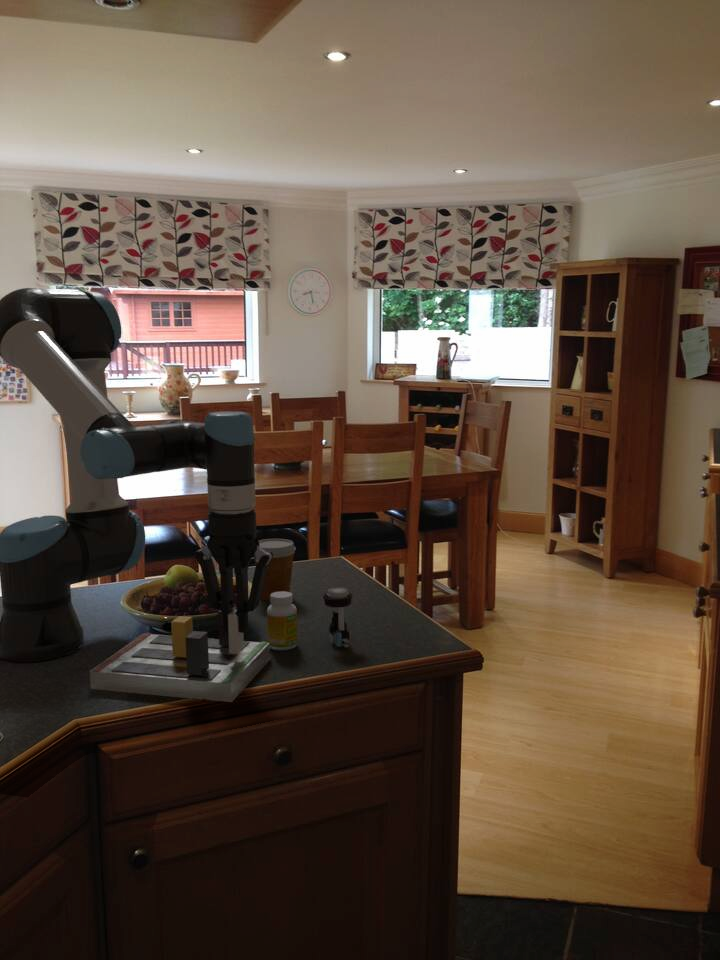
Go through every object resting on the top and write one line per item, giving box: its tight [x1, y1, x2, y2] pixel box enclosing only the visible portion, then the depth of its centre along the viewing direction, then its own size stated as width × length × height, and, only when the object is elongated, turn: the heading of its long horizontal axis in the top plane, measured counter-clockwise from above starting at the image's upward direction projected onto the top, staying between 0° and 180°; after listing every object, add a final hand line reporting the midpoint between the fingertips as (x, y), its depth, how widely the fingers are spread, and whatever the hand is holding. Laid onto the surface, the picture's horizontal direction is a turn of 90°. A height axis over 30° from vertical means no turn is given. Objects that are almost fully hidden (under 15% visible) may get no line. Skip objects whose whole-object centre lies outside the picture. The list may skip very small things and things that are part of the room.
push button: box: [322, 587, 354, 648], centre depth 154 cm, size 7×5×10 cm
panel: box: [89, 606, 271, 703], centre depth 140 cm, size 24×18×10 cm
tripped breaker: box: [170, 615, 194, 658], centre depth 140 cm, size 2×3×6 cm
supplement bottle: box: [266, 591, 298, 651], centre depth 153 cm, size 5×5×10 cm
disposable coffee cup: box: [253, 538, 297, 602], centre depth 182 cm, size 10×10×12 cm
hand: (236, 650), depth 138 cm, fingers closed
